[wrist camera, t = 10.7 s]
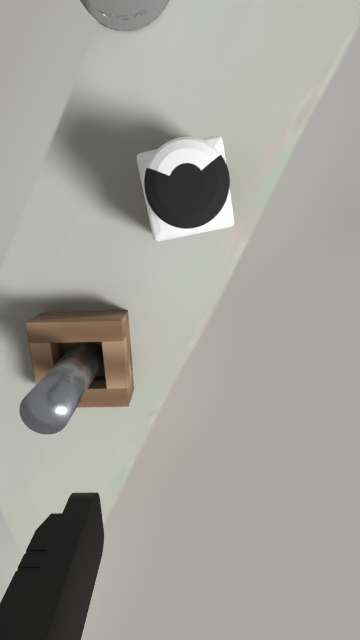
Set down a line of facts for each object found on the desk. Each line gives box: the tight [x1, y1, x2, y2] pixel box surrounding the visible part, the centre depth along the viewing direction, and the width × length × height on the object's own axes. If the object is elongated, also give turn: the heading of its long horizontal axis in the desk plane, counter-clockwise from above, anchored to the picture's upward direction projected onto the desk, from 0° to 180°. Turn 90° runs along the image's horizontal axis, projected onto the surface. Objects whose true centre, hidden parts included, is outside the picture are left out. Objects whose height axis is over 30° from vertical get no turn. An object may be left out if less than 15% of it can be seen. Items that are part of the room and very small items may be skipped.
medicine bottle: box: [136, 136, 234, 241], centre depth 28 cm, size 7×7×12 cm
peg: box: [20, 342, 104, 434], centre depth 32 cm, size 4×4×12 cm
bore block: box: [26, 311, 134, 407], centre depth 37 cm, size 10×10×4 cm
